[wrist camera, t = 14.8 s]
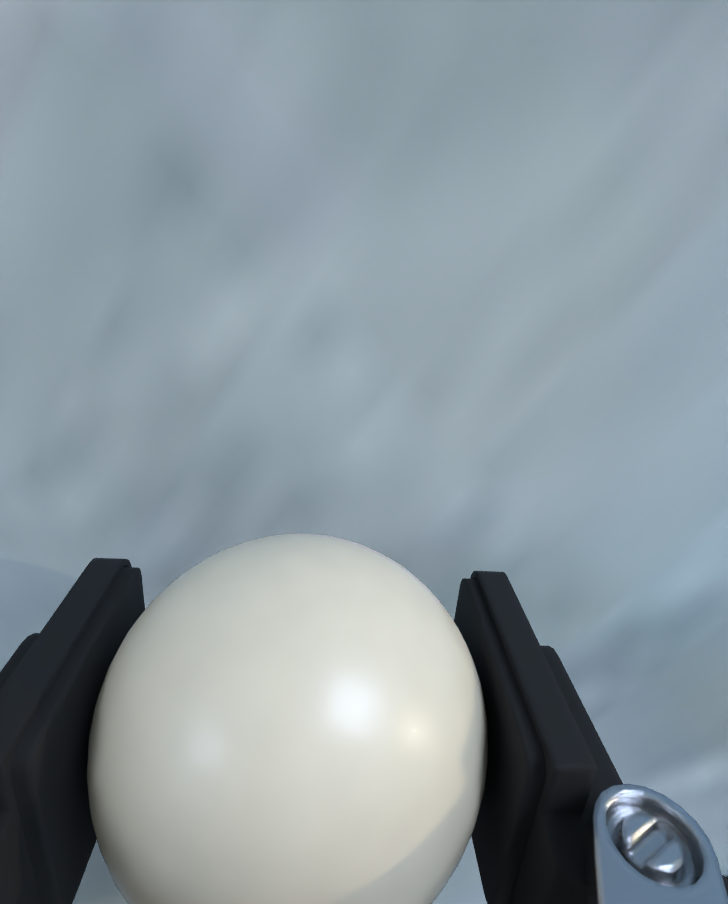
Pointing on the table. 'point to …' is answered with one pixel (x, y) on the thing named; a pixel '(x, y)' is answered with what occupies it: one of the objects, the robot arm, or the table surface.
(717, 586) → the table surface
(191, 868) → the blue doll
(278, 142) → the table surface
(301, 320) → the table surface
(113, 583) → the robot arm
